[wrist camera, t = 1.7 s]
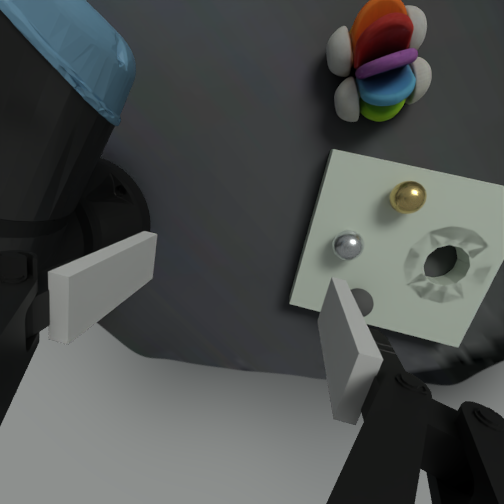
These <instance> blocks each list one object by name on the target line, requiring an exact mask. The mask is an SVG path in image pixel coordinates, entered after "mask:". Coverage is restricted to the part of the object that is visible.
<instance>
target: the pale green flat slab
mask: <svg viewBox="0 0 504 504" xmlns="http://www.w3.org/2000/svg"><path fill="white" fill-rule="evenodd" d="M404 181H416V182H418V183H420V184H421V185H422V186H423V187H424V188H425V190H426V193H427V199H426V202H425V204H424V206H423V207H422V208H421V209H420V210H418V211H416V212H414V213H411V214H402V213H399V212H397V211H395V210H394V209H393V208H392V206H391V204H390V201H389V197H390V193H391V191H392V189H393V188H394V187H395V186H396V185H397V184H399V183H401V182H404ZM345 230H352V231H355V232H357V233H358V234H359V235H360V236H361V237H362V238H363V241H364V250H363V252H362V254H361V255H360V256H359V257H358V258H356V259H354V260H350V261H346V260H342V259H340V258H338V257H337V256H336V255H335V254H334V252H333V249H332V242H333V239H334V237H335V236H336V235H337V234H338V233H340V232H342V231H345ZM447 245H452V246H453V247H454V248H455V249H456V252H457V261H456V263H455V265H454V267H453V269H452V270H450V271H449V272H448V273H446V274H445V275H443V276H439V277H434V278H432V277H428V276H425V273H424V267H423V265H424V263H425V261H426V258H427V256H428V255H429V254H430V253H432V252H433V251H434V250H435V249H437V248H439V247H443V246H447ZM503 260H504V186H502V185H497V184H492V183H488V182H483V181H479V180H474V179H469V178H465V177H460V176H455V175H451V174H446V173H442V172H437V171H432V170H428V169H423V168H419V167H414V166H409V165H405V164H400V163H395V162H391V161H386V160H382V159H377V158H372V157H368V156H363V155H359V154H354V153H349V152H345V151H340V150H335V149H332V150H330V153H329V157H328V160H327V164H326V168H325V171H324V175H323V178H322V182H321V185H320V189H319V193H318V196H317V200H316V203H315V207H314V210H313V214H312V217H311V221H310V225H309V228H308V232H307V235H306V239H305V242H304V246H303V250H302V253H301V257H300V260H299V264H298V267H297V271H296V274H295V278H294V282H293V285H292V289H291V292H290V302H289V304H291V305H295V306H299V307H303V308H307V309H311V310H315V311H319V312H320V311H321V308H322V305H323V302H324V299H325V296H326V293H327V289H328V286H329V283H330V280H331V277H334V278H338V279H342V280H346V282H347V284H348V286H349V288H350V290H351V289H354V288H360V289H364V290H366V291H367V292H368V293H369V294H370V295H371V296H372V298H373V302H374V306H373V309H372V311H371V312H370V314H368V315H367V316H365V317H363V318H364V320H365V322H366V324H369V325H373V326H377V327H381V328H384V329H388V330H392V331H396V332H400V333H404V334H408V335H412V336H415V337H419V338H423V339H427V340H431V341H435V342H439V343H443V344H446V345H450V346H454V347H459V345H460V343H461V341H462V339H463V337H464V335H465V333H466V331H467V329H468V328H469V326H470V324H471V322H472V320H473V318H474V316H475V314H476V312H477V310H478V308H479V306H480V304H481V302H482V300H483V298H484V296H485V295H486V293H487V291H488V289H489V287H490V285H491V283H492V281H493V279H494V277H495V275H496V273H497V271H498V269H499V267H500V265H501V263H502V262H503Z"/></svg>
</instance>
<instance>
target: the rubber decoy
mask: <svg viewBox="0 0 504 504" xmlns="http://www.w3.org/2000/svg"><path fill="white" fill-rule="evenodd" d="M351 292H352V295H353V297H354V299H355V301H356V303H357V305H358V307H359V309H360V311H361V313H362V316H363V317H365V316H367V315H368V314H370V312H371V311H372V309H373V306H374V302H373V298H372V296H371V295H370V294H369V293H368V292H367V291H366V290H364V289H360V288H354V289H351Z"/></svg>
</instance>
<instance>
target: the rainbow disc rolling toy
mask: <svg viewBox="0 0 504 504" xmlns="http://www.w3.org/2000/svg"><path fill="white" fill-rule="evenodd" d="M426 29H427V22H426V17H425V15H424V13H423V12H422V11H421V10H420V9H419V8H417V7H415V6H404V4H403V3H402V1H401V0H370V1H369V2H368V3H366V4H365V6H364V7H363V8H362V9H361V10H360V12H359V13H358V15H357V17H356V19H355V21H354V24H353V26H352V28H351V30H350V32H349V31H348V29H347V27H346V26H342V27H340V28H339V29H338V30H336V31H335V32H334V33H333V35H332V36H331V37H330V39H329V41H328V43H327V46H326V56H327V64H328V68H329V70H330V71H331V72H332V73H334V74H335V75H337V76H342V77H347V76H348V75H349V74H350V71H351V67H353V68H354V69H356V72H355V75H356V79H354V78H353V77H348V78H346V79H345V80H344V81H343V82H342V83H341V84H340V85H339V86H338V88H337V90H336V92H335V95H334V103H335V109H336V113H337V115H338V116H339V117H340V118H341V119H343V120H345V121H348V122H356V121H357V120H358V118H359V111H360V113H361V114H362V115H364V116H365V117H366V118H368V119H370V120H373V121H377V122H381V121H386V120H389V119H391V118H392V117H394V116H395V115H396V114H397V113H398V112H399V111H400V110H401V108H402V107H403V105H404V103H406V104H408V105H410V104H413V103H415V102H416V101H418V100H419V99H420V98H421V97H422V96H423V95H424V94H425V93H426V91H427V90H428V88H429V86H430V83H431V68H430V66H429V64H428V63H427V62H426V61H425V60H424V59H422V58H420V57H417V56H418V51H417V50H418V48H419V47H420V46H421V44H422V42H423V40H424V38H425V35H426Z"/></svg>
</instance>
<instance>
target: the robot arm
mask: <svg viewBox="0 0 504 504" xmlns="http://www.w3.org/2000/svg"><path fill="white" fill-rule="evenodd" d="M135 75H136V64H135V59H134V56H133V53H132V51H131V49H130V47H129V46H128V44H127V43H126V41H125V40H124V39H123V38H122V36H121V35H120V34H119V33H118V32H117V31H116V30H115V29H114V28H113V27H112V26H111V25H110V24H109V23H108V22H107V21H106V20H105V19H104V18H103V17H102V16H101V15H100V14H99V13H98V12H97V11H96V10H95V9H94V8H93V7H92V6H91V5H90V4H89V3H88V2H87V1H86V0H0V425H1V423H2V421H3V419H4V417H5V415H6V412H7V410H8V408H9V406H10V404H11V402H12V399H13V397H14V395H15V393H16V391H17V389H18V386H19V384H20V382H21V380H22V378H23V376H24V374H25V371H26V369H27V367H28V365H29V363H30V361H31V358H32V356H33V354H34V352H35V350H36V348H37V345H38V343H39V332H40V331H41V330H43V329H44V328H46V327H47V326H49V340H53V341H56V342H60V343H63V344H70V343H71V342H72V341H73V340H75V339H76V338H77V337H78V336H80V335H81V334H82V333H84V332H85V331H86V330H87V329H89V328H90V327H91V326H92V325H94V324H95V323H96V322H98V321H99V320H100V319H102V318H103V317H104V316H105V315H107V314H108V313H109V312H110V311H112V310H113V309H114V308H116V307H117V306H118V305H119V304H121V303H122V302H123V301H124V300H126V299H127V298H128V297H130V296H131V295H132V294H133V293H135V292H136V291H137V290H138V289H140V288H141V287H142V286H144V285H145V284H146V283H147V282H149V281H150V280H151V279H152V278H153V269H154V260H155V251H156V242H157V234H155V233H151V232H150V216H149V210H148V207H147V203H146V201H145V198H144V196H143V194H142V192H141V190H140V189H139V187H138V186H137V184H136V183H135V182H134V180H133V179H132V178H131V177H130V176H129V175H128V174H127V173H126V172H125V171H123V170H122V169H121V168H119V167H118V166H116V165H115V164H113V163H111V162H109V161H107V160H104V159H101V158H100V156H101V154H102V152H103V150H104V148H105V146H106V144H107V141H108V139H109V137H110V135H111V133H112V131H113V129H114V127H115V126H118V125H119V124H120V122H121V118H120V114H121V112H122V109H123V107H124V104H125V102H126V99H127V97H128V94H129V92H130V89H131V87H132V84H133V82H134V79H135ZM318 327H319V334H320V340H321V346H322V352H323V358H324V364H325V370H326V376H327V382H328V388H329V394H330V401H331V407H332V413H333V419H336V420H339V421H342V422H346V423H349V424H353V425H356V423H357V421H358V418H359V416H360V414H361V412H362V416H363V419H364V423H363V425H362V427H361V430H360V432H359V434H358V436H357V438H356V440H355V442H354V445H353V447H352V449H351V451H350V454H349V456H348V458H347V460H346V462H345V464H344V466H343V469H342V471H341V473H340V475H339V477H338V480H337V482H336V484H335V486H334V488H333V490H332V493H331V495H330V497H329V499H328V501H327V503H326V504H415V497H416V491H417V485H418V479H419V473H420V469H422V470H424V471H426V472H427V478H428V483H429V489H430V494H431V500H432V504H504V418H502V416H501V415H499V414H498V413H496V412H494V411H493V410H492V409H490V408H487V407H485V406H483V405H480V404H478V403H475V402H467V401H465V402H464V403H462V404H461V406H460V408H459V409H458V411H457V410H455V409H453V408H450V407H448V406H446V405H444V404H442V403H440V402H438V401H435V400H434V399H432V395H431V391H430V390H429V388H428V387H427V385H426V384H424V383H423V382H422V381H421V380H420V379H419V378H417V377H415V376H414V375H412V374H410V373H408V372H406V371H405V369H404V368H403V366H402V364H401V362H400V360H399V359H398V357H397V355H396V354H395V351H394V350H393V348H392V347H391V344H390V342H389V341H388V339H387V337H385V336H384V335H383V334H382V333H381V332H380V331H379V330H377V329H373V328H369V327H368V326H367V324H366V322H365V320H364V318H363V316H362V313H361V311H360V309H359V307H358V305H357V303H356V301H355V299H354V297H353V295H352V292H351V290H350V288H349V286H348V284H347V282H346V280H342V279H338V278H334V277H331V280H330V283H329V286H328V289H327V293H326V296H325V299H324V302H323V305H322V308H321V311H320V314H319V318H318Z"/></svg>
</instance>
